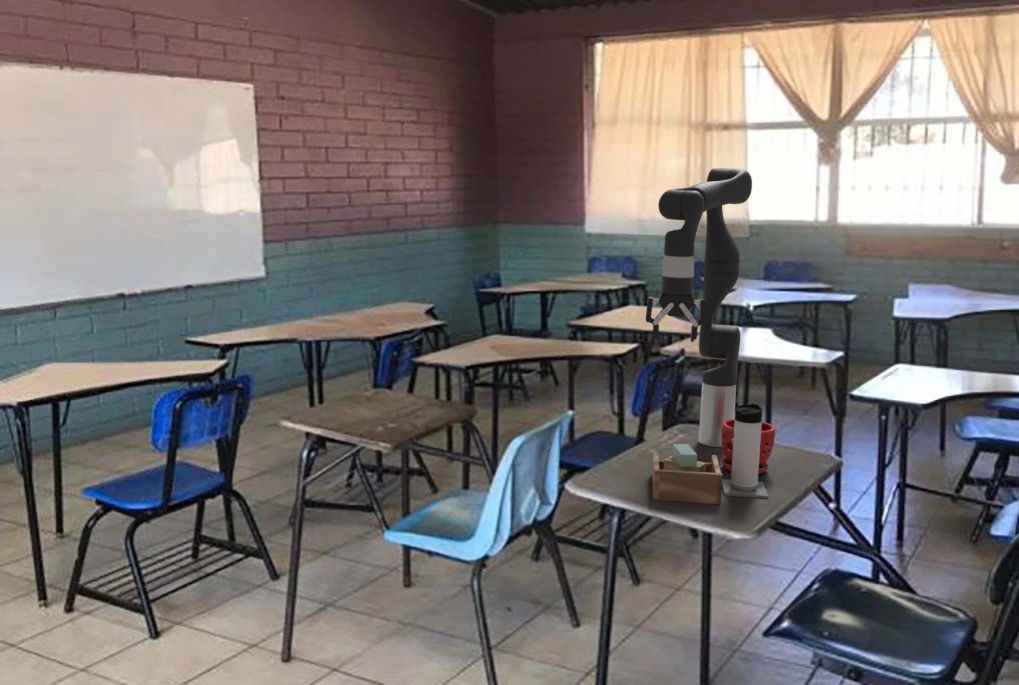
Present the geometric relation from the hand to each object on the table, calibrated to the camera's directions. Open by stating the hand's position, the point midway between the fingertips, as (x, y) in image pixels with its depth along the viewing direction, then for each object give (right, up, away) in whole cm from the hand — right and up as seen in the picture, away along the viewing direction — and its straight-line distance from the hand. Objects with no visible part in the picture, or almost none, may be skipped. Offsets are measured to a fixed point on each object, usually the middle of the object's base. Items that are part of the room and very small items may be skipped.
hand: (674, 340), depth 234 cm
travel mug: (+16, -35, -3) cm, 39 cm away
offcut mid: (+2, -32, 0) cm, 32 cm away
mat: (+16, -36, -4) cm, 39 cm away
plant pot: (+20, -33, +12) cm, 41 cm away
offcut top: (+2, -29, -1) cm, 29 cm away
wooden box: (+2, -36, -4) cm, 36 cm away
